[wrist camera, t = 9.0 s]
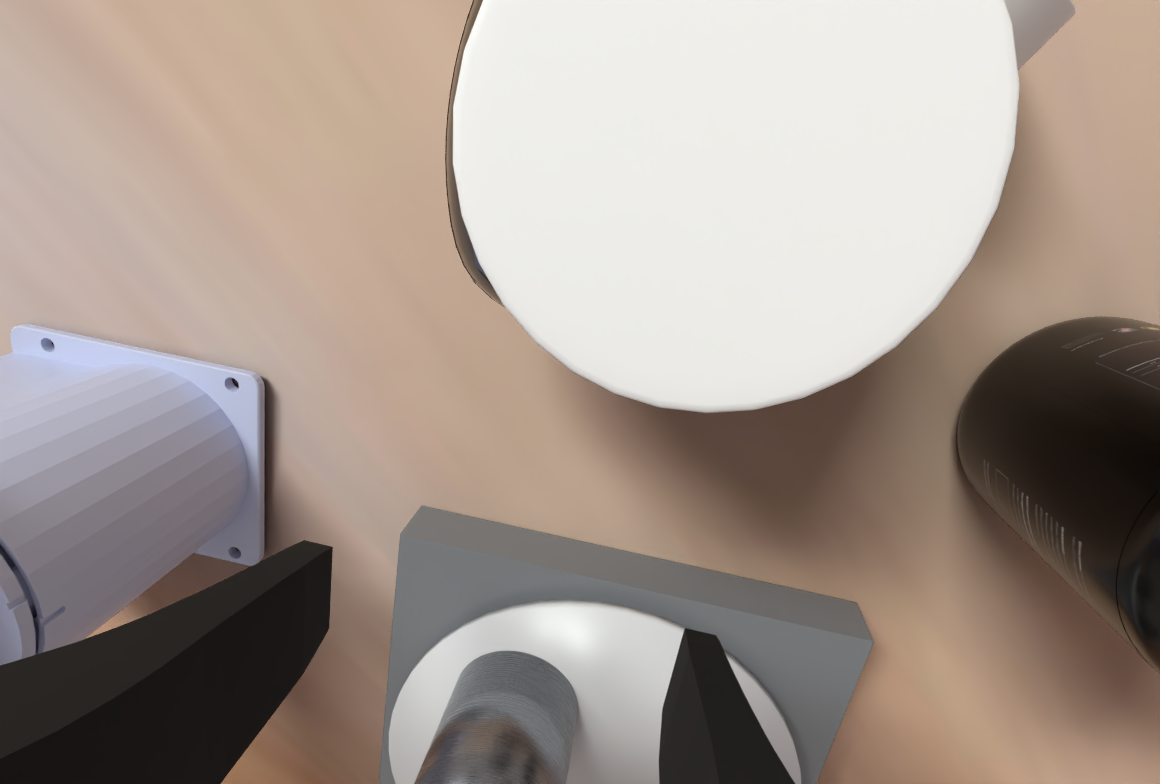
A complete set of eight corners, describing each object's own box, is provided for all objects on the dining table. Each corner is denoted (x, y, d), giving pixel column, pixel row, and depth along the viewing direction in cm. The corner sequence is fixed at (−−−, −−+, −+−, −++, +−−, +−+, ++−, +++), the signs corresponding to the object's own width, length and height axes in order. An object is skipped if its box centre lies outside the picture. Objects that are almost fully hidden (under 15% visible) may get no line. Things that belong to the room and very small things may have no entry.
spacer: (455, 739, 23) (386, 921, 18) (455, 641, 22) (380, 806, 16) (574, 759, 23) (542, 952, 17) (582, 661, 22) (551, 837, 16)
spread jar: (506, 263, 20) (318, 365, 10) (564, -170, 17) (363, -831, 6) (885, 339, 20) (1156, 546, 9) (1038, -97, 16) (1861, -703, 5)
